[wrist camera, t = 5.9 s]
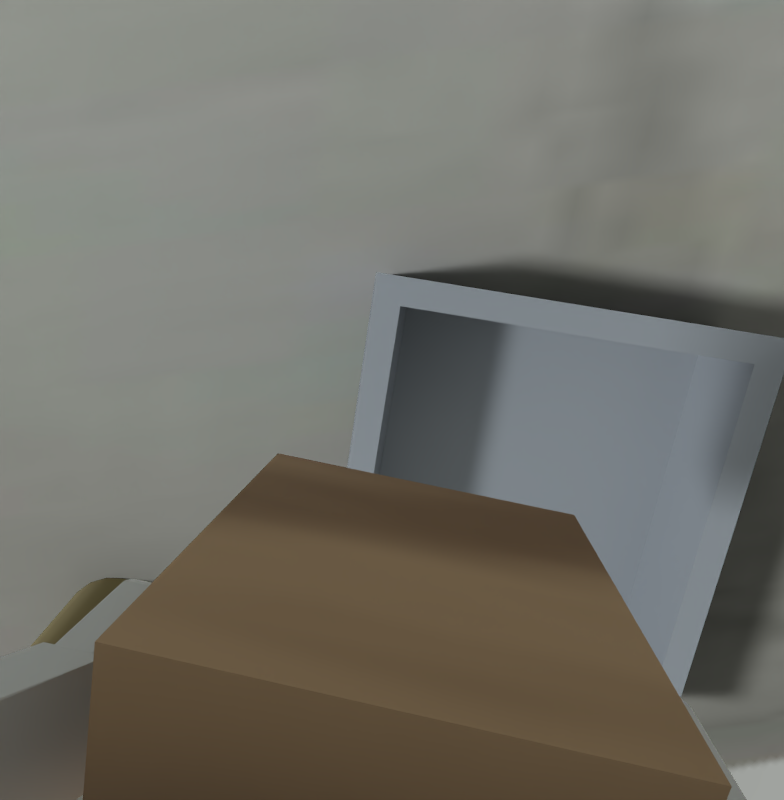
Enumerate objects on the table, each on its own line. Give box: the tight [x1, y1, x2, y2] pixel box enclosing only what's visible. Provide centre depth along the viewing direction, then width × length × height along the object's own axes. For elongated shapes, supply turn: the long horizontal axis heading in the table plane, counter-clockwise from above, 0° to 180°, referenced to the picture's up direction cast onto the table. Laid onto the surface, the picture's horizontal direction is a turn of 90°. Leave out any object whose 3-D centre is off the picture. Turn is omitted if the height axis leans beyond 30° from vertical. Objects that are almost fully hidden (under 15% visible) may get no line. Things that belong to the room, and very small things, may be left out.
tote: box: [347, 272, 784, 698], centre depth 23 cm, size 18×14×5 cm
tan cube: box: [83, 454, 732, 800], centre depth 7 cm, size 5×5×5 cm
